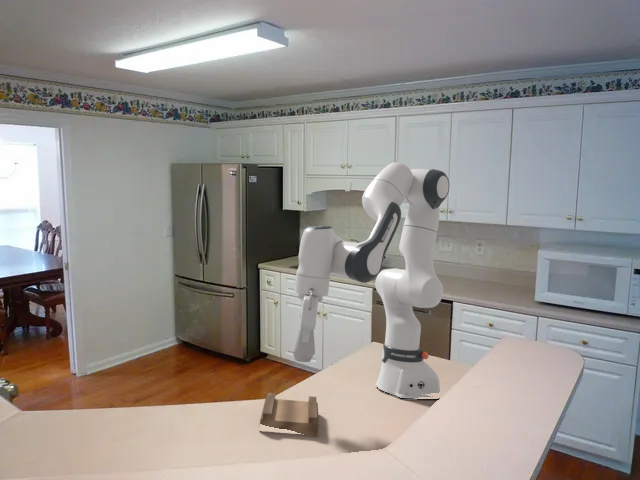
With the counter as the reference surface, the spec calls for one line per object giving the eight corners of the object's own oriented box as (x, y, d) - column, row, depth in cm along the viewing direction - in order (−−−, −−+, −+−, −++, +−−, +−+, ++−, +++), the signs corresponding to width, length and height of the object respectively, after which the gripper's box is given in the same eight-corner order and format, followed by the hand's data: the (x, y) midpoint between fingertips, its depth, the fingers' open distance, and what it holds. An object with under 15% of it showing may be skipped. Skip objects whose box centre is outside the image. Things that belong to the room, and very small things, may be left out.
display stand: (316, 413, 125) (318, 397, 125) (317, 436, 111) (319, 418, 111) (264, 409, 125) (266, 392, 125) (259, 431, 111) (260, 412, 111)
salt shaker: (310, 364, 117) (317, 313, 117) (289, 360, 118) (295, 309, 118) (315, 359, 123) (321, 310, 123) (294, 355, 124) (300, 307, 124)
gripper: (325, 293, 110) (318, 351, 110) (322, 284, 130) (316, 333, 130) (298, 290, 110) (291, 348, 110) (300, 281, 130) (294, 330, 130)
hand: (305, 340), depth 120 cm, fingers closed on salt shaker, 3 cm apart
